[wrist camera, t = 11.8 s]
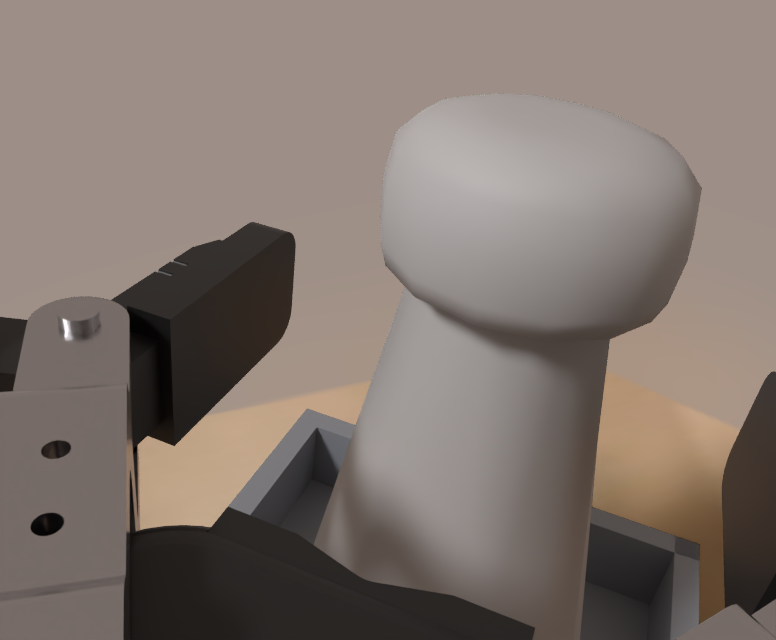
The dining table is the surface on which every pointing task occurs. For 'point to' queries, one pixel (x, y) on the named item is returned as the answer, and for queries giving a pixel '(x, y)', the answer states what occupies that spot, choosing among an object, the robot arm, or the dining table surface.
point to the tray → (605, 547)
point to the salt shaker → (504, 347)
